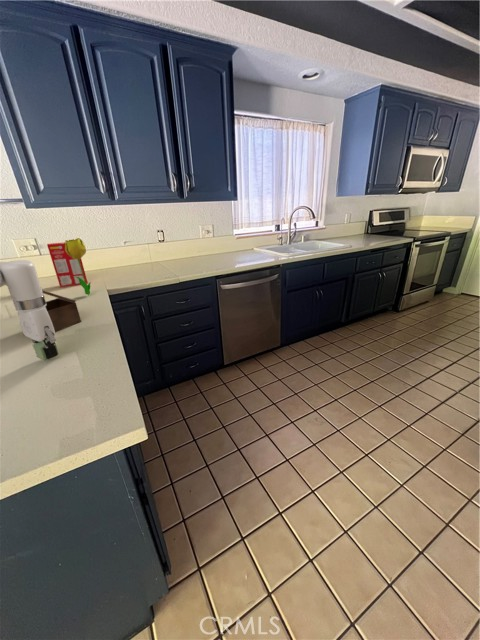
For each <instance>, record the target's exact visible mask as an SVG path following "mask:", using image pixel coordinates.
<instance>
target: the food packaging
mask: <svg viewBox="0 0 480 640" xmlns="http://www.w3.org/2000/svg"><path fill="white" fill-rule="evenodd" d="M46 246H47V249H48V252H49V255H50V259H51V262H52V266H53V268H54V272H55V275H56V279H57V282H58V285H59V288H67V287H73V286H81V284H80V282H79V279H78V278H76V277H79V278H81V279H82V280H83V281H84V280H85V282H86V284H87V285H88V284H89V282H88V279H87V276H86V272H85V268H84V263H83V259H82V258H81V259H79V261H80V265H81V268H80V265H79V262H78V259H74V258H72V257H71V256H69V255H68V254H67V253H66V251H65V241H64V242H52V243H47V244H46ZM81 269H82V272H83V275H82V272H81ZM83 276H84V278H83Z"/></svg>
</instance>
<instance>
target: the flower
mask: <svg viewBox="0 0 480 640" xmlns="http://www.w3.org/2000/svg"><path fill="white" fill-rule="evenodd" d="M64 242H65V251H66V253H67V254H68V255H69V256H71V257H72V258H74V259H78V262H79V265H80V261H79V259H81V260H82V258H83V256H85V255H86V253H87V248H86V246H85V245H86V244H85V243H84V242H83V240H82V239H81V238H79V237H77V238H73V239H66V240H64ZM80 268H81V265H80ZM81 272H82V269H81ZM82 275H83V272H82ZM76 278H78V279H79V282H80V284H81V285H80V286H81V287H82V288H83V291H84V294H85V295H87V296H90V294H91V291H90V290H91V284H92V282H88V284H86V282H85V280H84V281H83V280H82V279H81V278H79V277H76ZM83 278H84V276H83Z"/></svg>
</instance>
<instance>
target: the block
mask: <svg viewBox="0 0 480 640" xmlns="http://www.w3.org/2000/svg"><path fill="white" fill-rule="evenodd" d="M47 341H49V339H48V340H45V342H46V343H47ZM32 347H33V349H34V351H35V352H34V353H35V355H36V357H37V358H39V359H40V360H42V361H46V360H48V359H47V358H46V355H45V352H44V349H43V348H44V346H43V344H42V341H41V342H39V343H35V344H34V343H33V344H32ZM55 347H56V350H57V353H58V355H59V354H60V353H59V350H58V346H57V344H56V342H55Z"/></svg>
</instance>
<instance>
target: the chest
mask: <svg viewBox="0 0 480 640" xmlns="http://www.w3.org/2000/svg"><path fill="white" fill-rule="evenodd" d="M46 304H47V305H46V306H45V307H46V309H47V312H48V314H49V316H50V319H51V321H52V324H53V327H54V331H55V333H56V332H59V331H61V330H64V329H66V328H69V327H71V326H74V325H76V324H79V323H81V322H82V319H81V316H80V313H79V308H78V305H77V303H76V301H75V302H72V301H68V300H64V299H60V298H57V297H56V298H54V299H50V300H47V301H46Z"/></svg>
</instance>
